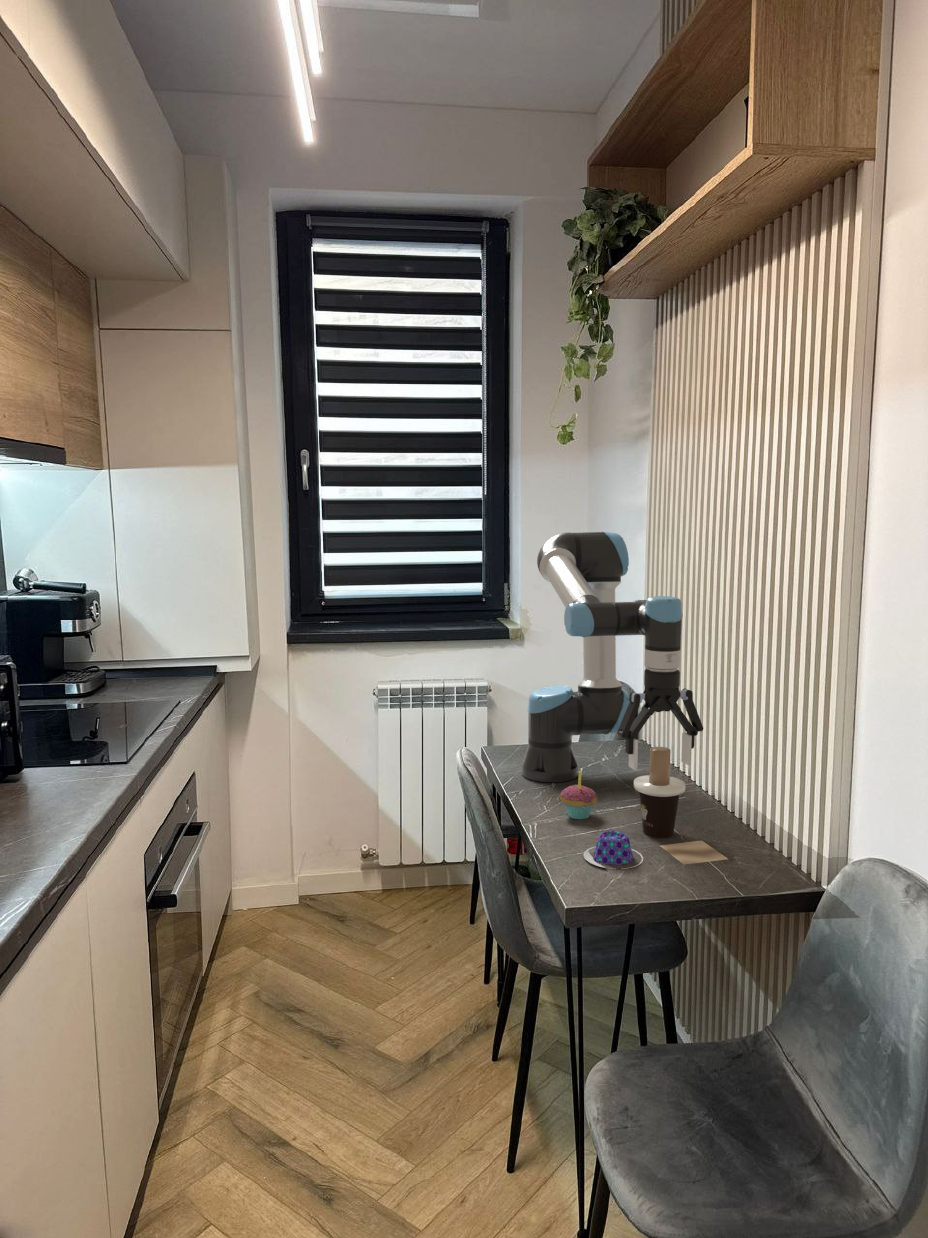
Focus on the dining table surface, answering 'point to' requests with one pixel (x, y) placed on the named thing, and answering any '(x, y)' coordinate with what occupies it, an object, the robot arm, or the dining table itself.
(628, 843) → the pudding
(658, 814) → the coffee mug
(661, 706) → the robot arm
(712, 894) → the dining table surface
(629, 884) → the dining table surface
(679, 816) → the dining table surface
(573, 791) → the cupcake
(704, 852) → the cork mat
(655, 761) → the lid
